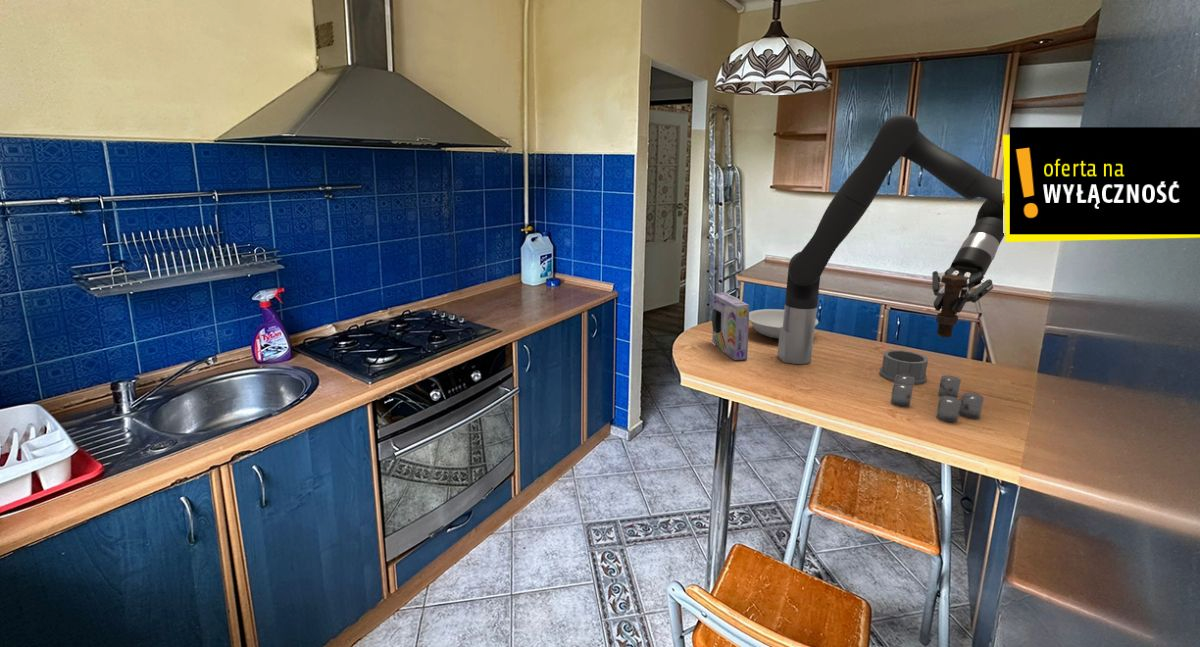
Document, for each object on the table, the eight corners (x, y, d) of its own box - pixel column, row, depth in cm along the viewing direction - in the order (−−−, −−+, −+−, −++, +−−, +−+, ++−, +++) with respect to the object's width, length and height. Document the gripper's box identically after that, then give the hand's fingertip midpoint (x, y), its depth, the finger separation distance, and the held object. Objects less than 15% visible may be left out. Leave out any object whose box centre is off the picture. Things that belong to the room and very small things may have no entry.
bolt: (951, 333, 143) (962, 274, 138) (961, 340, 138) (973, 279, 133) (926, 332, 143) (937, 274, 139) (936, 339, 138) (947, 278, 134)
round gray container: (892, 384, 157) (895, 363, 155) (871, 368, 168) (874, 349, 167) (935, 384, 157) (939, 363, 155) (911, 368, 168) (914, 349, 167)
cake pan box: (709, 342, 191) (712, 291, 186) (723, 341, 192) (726, 290, 187) (732, 362, 173) (736, 305, 168) (748, 361, 174) (752, 305, 169)
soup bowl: (738, 325, 210) (739, 308, 209) (803, 326, 210) (805, 309, 208) (752, 346, 187) (754, 327, 186) (826, 347, 187) (828, 328, 185)
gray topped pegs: (915, 422, 134) (918, 403, 133) (876, 390, 152) (878, 373, 151) (995, 422, 134) (1000, 403, 133) (947, 390, 153) (950, 373, 151)
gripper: (942, 242, 144) (911, 295, 140) (1006, 249, 133) (975, 307, 130) (947, 260, 149) (918, 313, 145) (1009, 269, 138) (980, 326, 134)
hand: (945, 310), depth 137 cm, fingers closed on bolt, 3 cm apart
